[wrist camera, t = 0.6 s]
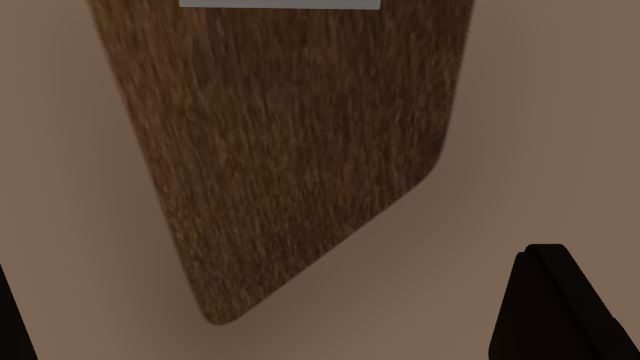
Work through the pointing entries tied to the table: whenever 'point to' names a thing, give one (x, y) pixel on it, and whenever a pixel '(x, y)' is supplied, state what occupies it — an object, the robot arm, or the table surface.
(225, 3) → the tray
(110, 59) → the table surface
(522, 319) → the robot arm
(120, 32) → the table surface
